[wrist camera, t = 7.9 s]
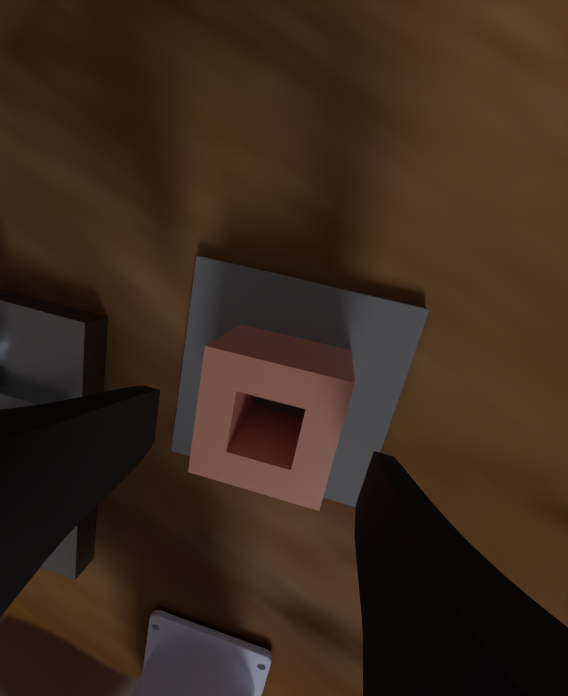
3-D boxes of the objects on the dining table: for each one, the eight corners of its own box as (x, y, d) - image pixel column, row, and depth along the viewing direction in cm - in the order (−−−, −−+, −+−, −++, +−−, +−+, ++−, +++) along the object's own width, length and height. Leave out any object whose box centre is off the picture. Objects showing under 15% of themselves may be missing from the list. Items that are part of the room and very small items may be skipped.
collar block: (325, 449, 15) (319, 511, 12) (225, 422, 16) (188, 472, 12) (351, 350, 14) (355, 382, 10) (241, 324, 15) (204, 345, 11)
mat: (360, 500, 16) (360, 508, 16) (176, 444, 17) (170, 450, 17) (425, 307, 14) (429, 309, 13) (202, 256, 15) (196, 255, 14)
